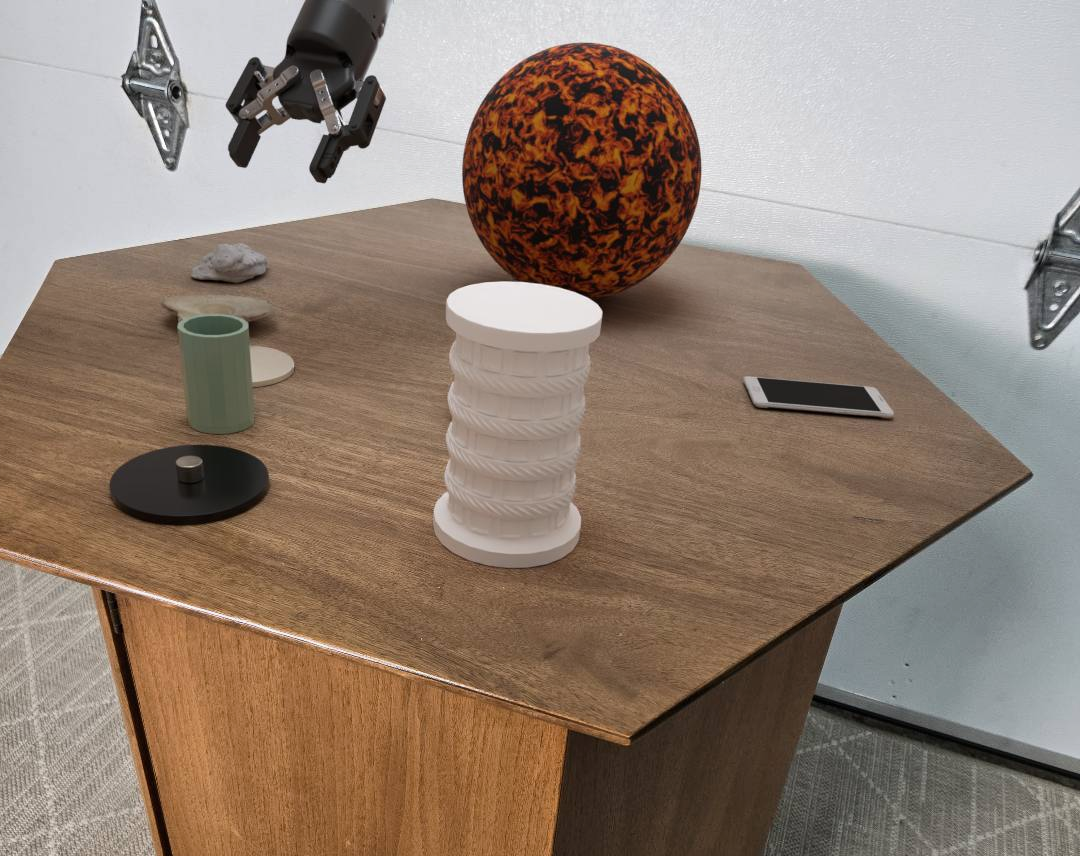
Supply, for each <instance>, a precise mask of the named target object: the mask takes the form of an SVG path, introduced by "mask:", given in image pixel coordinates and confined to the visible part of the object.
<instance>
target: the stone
mask: <svg viewBox="0 0 1080 856" xmlns="http://www.w3.org/2000/svg"><path fill="white" fill-rule="evenodd" d="M269 263H270V261H269V259H268V258H267V257H266V255H264V254H261V253H260V252H257V251H254V250H252V249H251V248H250V247H249V245H247V244H245V243H243V242H239V243H234V244H228V243H222V244H221V243H220V244H218V245H217V246H216V247H214V249H213V250H212V251H211V252H209V253H208V254H205V255H204V257H202V259H201V260H200V261H198V263H196V265H195V267H193V268H192V269H191V270H190V271H191V273H190V277H191V279H195V280H201V281H203V280H211V281H223V282H228V283H235V284H239V283H241V282H245V281H247V280H252V279H253V278H254V277H256V276H260V275H263V274H264V273H266V272H267V266H268V265H269Z"/></svg>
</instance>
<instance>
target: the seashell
mask: <svg viewBox="0 0 1080 856" xmlns="http://www.w3.org/2000/svg"><path fill="white" fill-rule="evenodd" d="M159 305H160V307H161V308H162V309H163V310H165V311H167V312H168V313H170V314H172V315H175V316H177V321H178V323H179V322H180V321H182V320H183V319H185V318H188V317H191V316H195V315H203V314H225V315H232V316H236V317H239V318H242V319H244V320H245V321H246V322H248V323H250V322H252V321H253V322H254V321H257V320H260V319H263V318H266V317H267V316H269V315H271V314H272V313H274V311H275V310H276V306H275V305H274V303H273V302H270V301H269V300H265V299H264V298H260V297H258V296H255V297H252V296H250V295H227V294H183V295H171V294H170V295H169V296H167V295H166V296H165V297H162V298H161V300H160V301H159ZM178 323H177V324H178Z"/></svg>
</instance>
